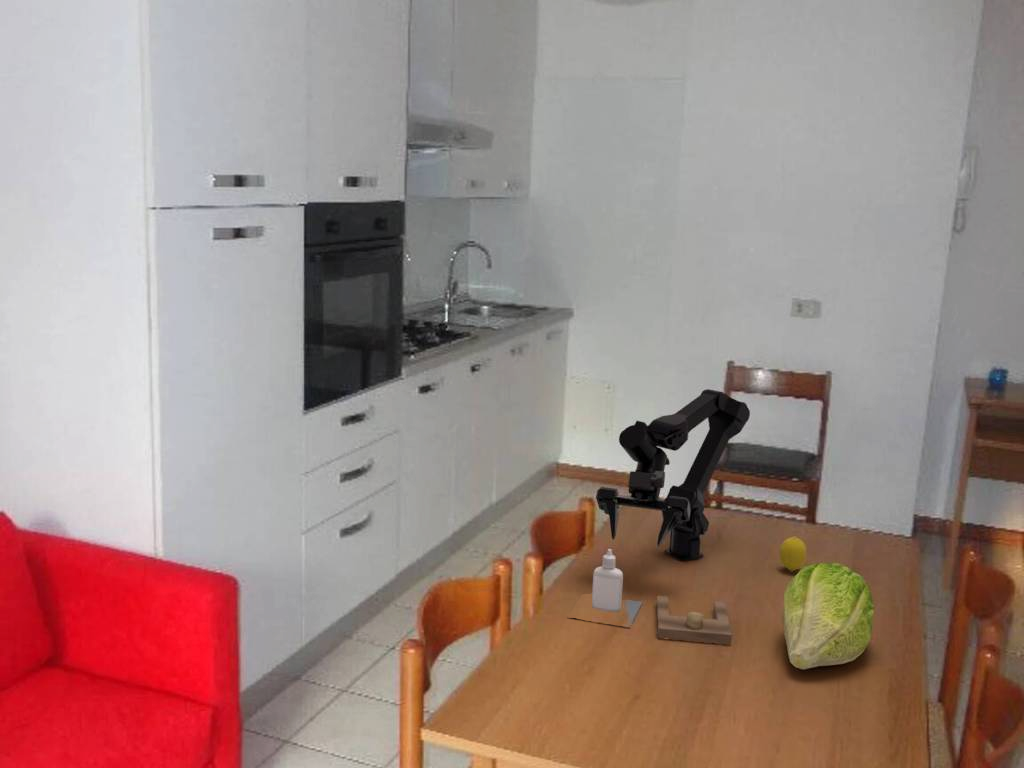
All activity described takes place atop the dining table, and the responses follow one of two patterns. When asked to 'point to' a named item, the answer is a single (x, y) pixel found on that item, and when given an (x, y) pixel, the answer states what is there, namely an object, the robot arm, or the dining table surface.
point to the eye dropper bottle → (607, 585)
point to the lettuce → (827, 616)
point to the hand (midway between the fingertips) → (635, 541)
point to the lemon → (793, 553)
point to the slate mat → (632, 609)
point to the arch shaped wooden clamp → (694, 624)
